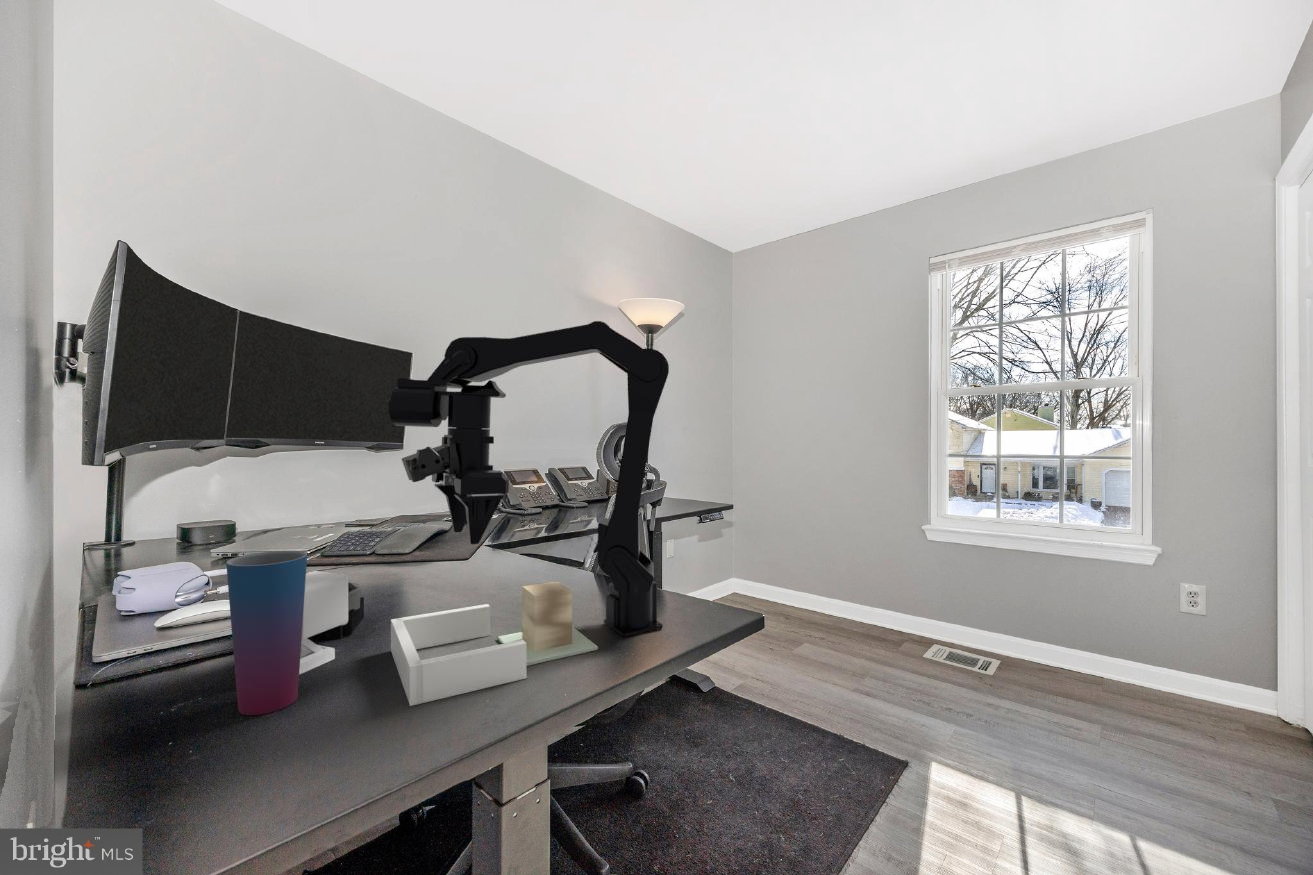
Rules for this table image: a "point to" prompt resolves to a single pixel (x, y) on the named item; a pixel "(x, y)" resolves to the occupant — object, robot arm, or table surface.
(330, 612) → the security camera
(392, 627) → the cubby
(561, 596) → the maple block
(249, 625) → the cup
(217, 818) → the table surface
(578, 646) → the sage mat
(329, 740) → the table surface
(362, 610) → the black and grey container
